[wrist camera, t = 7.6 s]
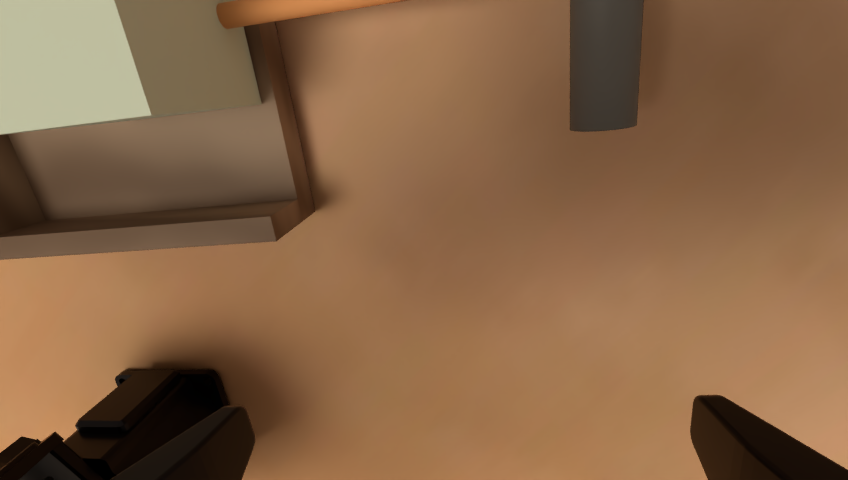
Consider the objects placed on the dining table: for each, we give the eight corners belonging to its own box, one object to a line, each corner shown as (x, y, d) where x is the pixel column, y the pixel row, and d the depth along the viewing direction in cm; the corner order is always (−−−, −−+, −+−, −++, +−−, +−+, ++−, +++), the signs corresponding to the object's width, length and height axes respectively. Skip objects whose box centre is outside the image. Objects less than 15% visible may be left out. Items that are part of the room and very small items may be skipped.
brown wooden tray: (315, 211, 20) (276, 241, 16) (65, 230, 22) (-19, 260, 18) (220, -234, 14) (129, -344, 11) (-97, -147, 17) (-263, -213, 13)
